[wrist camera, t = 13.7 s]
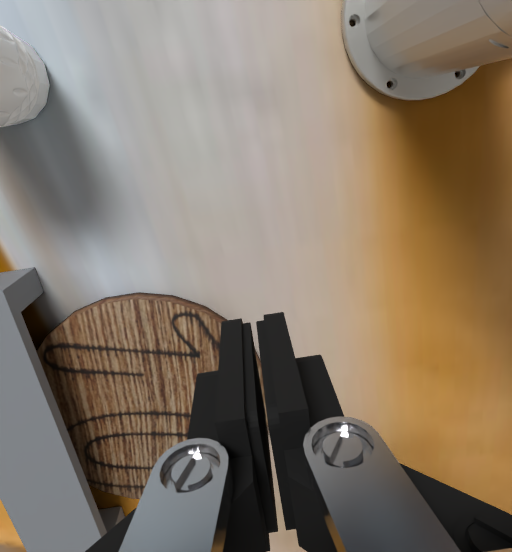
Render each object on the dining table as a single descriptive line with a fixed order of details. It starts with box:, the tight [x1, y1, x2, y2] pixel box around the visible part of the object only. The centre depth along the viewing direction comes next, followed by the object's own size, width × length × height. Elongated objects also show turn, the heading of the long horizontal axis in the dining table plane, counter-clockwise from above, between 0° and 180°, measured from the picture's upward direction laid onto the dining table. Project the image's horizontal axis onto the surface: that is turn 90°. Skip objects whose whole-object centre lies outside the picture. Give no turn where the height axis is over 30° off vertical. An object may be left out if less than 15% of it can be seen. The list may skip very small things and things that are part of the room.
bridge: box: [0, 267, 125, 552], centre depth 41 cm, size 8×33×6 cm, turn 8°
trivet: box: [37, 293, 268, 499], centre depth 43 cm, size 25×25×2 cm
